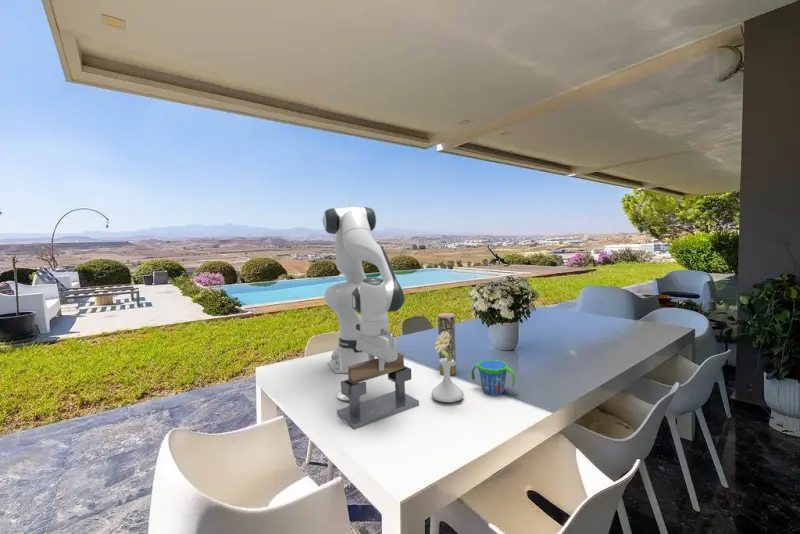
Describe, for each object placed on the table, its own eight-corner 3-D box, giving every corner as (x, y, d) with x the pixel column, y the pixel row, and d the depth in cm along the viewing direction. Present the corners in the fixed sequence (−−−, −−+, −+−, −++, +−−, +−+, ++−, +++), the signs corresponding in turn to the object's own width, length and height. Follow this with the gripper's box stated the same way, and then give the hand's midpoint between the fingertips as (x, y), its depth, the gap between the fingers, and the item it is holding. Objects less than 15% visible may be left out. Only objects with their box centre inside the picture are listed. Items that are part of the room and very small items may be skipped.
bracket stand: (336, 414, 119) (335, 379, 118) (398, 393, 133) (397, 361, 133) (354, 429, 109) (352, 390, 108) (419, 405, 124) (417, 370, 123)
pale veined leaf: (353, 388, 139) (353, 382, 138) (365, 402, 128) (364, 396, 128) (334, 394, 135) (333, 388, 135) (344, 409, 125) (343, 402, 124)
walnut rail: (348, 381, 116) (347, 366, 115) (398, 366, 127) (398, 352, 127) (353, 384, 113) (352, 368, 113) (404, 368, 125) (403, 354, 125)
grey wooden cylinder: (455, 376, 148) (454, 316, 146) (439, 376, 149) (437, 316, 147) (456, 370, 154) (455, 312, 153) (440, 370, 156) (438, 312, 154)
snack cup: (467, 392, 132) (466, 365, 132) (478, 382, 141) (478, 357, 140) (509, 402, 123) (509, 373, 123) (519, 390, 132) (518, 363, 131)
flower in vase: (430, 391, 134) (428, 325, 132) (461, 391, 134) (459, 324, 132) (432, 408, 121) (430, 334, 119) (466, 407, 121) (465, 333, 119)
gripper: (401, 331, 113) (403, 374, 114) (367, 320, 129) (369, 358, 130) (384, 334, 109) (386, 379, 110) (352, 323, 126) (354, 362, 127)
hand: (377, 368), depth 120 cm, fingers closed on walnut rail, 3 cm apart
